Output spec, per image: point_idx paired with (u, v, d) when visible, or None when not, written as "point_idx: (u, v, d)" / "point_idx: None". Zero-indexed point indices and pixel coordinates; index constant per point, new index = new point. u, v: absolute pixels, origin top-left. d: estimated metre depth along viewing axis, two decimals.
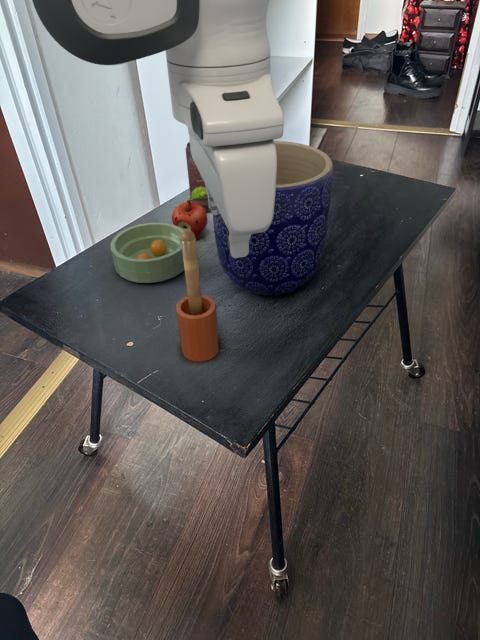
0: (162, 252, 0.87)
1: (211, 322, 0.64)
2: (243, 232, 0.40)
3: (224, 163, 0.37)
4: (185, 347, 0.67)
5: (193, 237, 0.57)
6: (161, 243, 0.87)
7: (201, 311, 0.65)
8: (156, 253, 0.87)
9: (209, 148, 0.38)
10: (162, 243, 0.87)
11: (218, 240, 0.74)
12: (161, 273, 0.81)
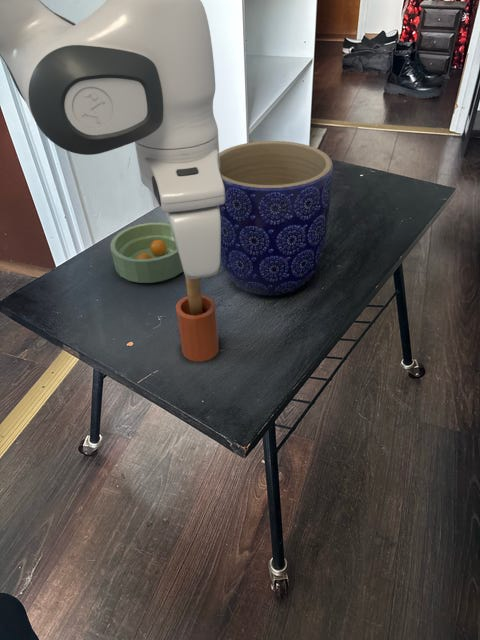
0: (162, 252, 0.87)
1: (211, 322, 0.64)
2: (196, 277, 0.50)
3: (178, 225, 0.46)
4: (185, 347, 0.67)
5: None
6: (161, 243, 0.87)
7: (201, 311, 0.65)
8: (156, 253, 0.87)
9: (167, 212, 0.47)
10: (162, 243, 0.87)
11: None
12: (161, 273, 0.81)
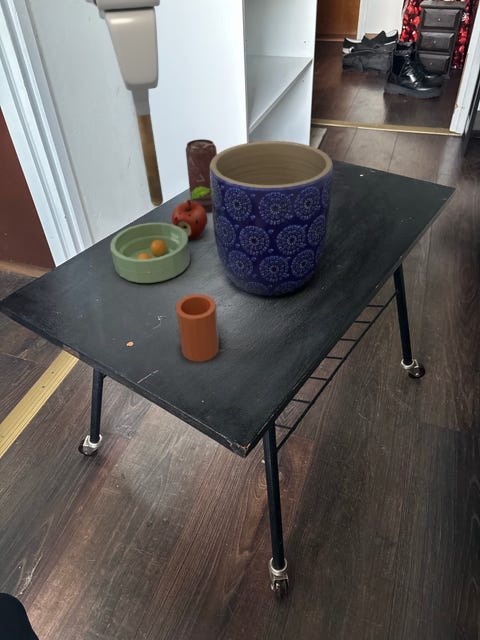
0: (162, 252, 0.87)
1: (211, 322, 0.64)
2: (135, 85, 0.51)
3: (113, 22, 0.48)
4: (185, 347, 0.67)
5: None
6: (161, 243, 0.87)
7: (155, 162, 0.66)
8: (156, 253, 0.87)
9: (103, 13, 0.49)
10: (162, 243, 0.87)
11: (218, 240, 0.74)
12: (161, 273, 0.81)
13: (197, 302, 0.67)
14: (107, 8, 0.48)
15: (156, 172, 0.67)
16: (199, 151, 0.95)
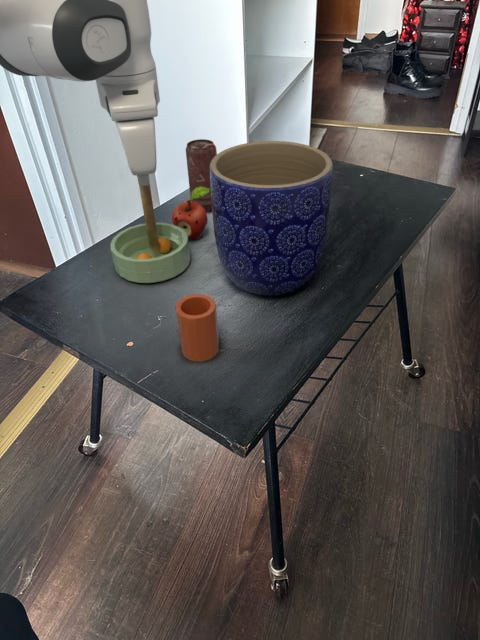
0: (165, 248, 0.88)
1: (211, 322, 0.64)
2: (138, 172, 0.68)
3: (123, 130, 0.65)
4: (185, 347, 0.67)
5: None
6: (169, 241, 0.88)
7: (153, 219, 0.83)
8: (160, 245, 0.87)
9: (116, 122, 0.66)
10: (170, 242, 0.88)
11: (218, 240, 0.74)
12: (161, 273, 0.81)
13: (197, 302, 0.67)
14: (119, 120, 0.65)
15: (154, 226, 0.84)
16: (199, 151, 0.95)
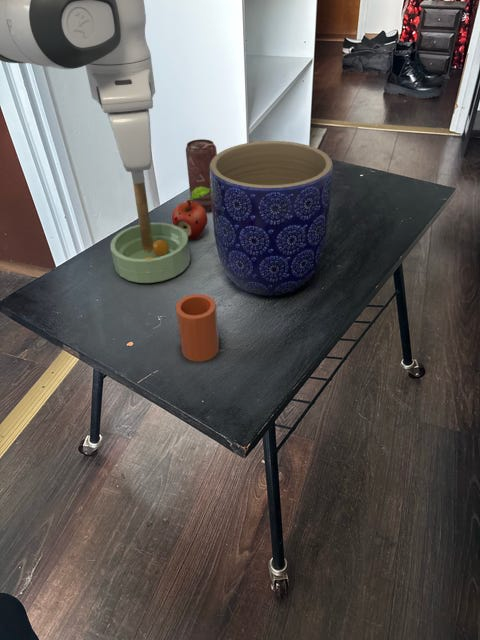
0: (164, 253, 0.88)
1: (211, 322, 0.64)
2: (132, 168, 0.64)
3: (115, 123, 0.60)
4: (185, 347, 0.67)
5: None
6: (164, 244, 0.87)
7: (147, 218, 0.79)
8: (158, 253, 0.87)
9: (108, 114, 0.61)
10: (166, 244, 0.87)
11: (218, 240, 0.74)
12: (161, 273, 0.81)
13: (197, 302, 0.67)
14: (111, 112, 0.60)
15: (148, 226, 0.79)
16: (199, 151, 0.95)
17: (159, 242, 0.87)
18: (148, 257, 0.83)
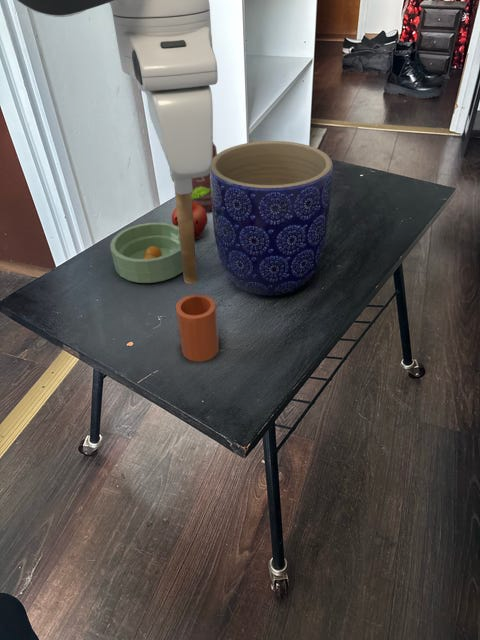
0: None
1: (211, 322, 0.64)
2: (184, 175, 0.43)
3: (162, 106, 0.40)
4: (185, 347, 0.67)
5: None
6: None
7: (192, 240, 0.58)
8: None
9: (149, 94, 0.41)
10: None
11: (218, 240, 0.74)
12: (161, 273, 0.81)
13: (197, 302, 0.67)
14: (155, 89, 0.39)
15: (192, 251, 0.59)
16: None
17: None
18: (148, 255, 0.84)
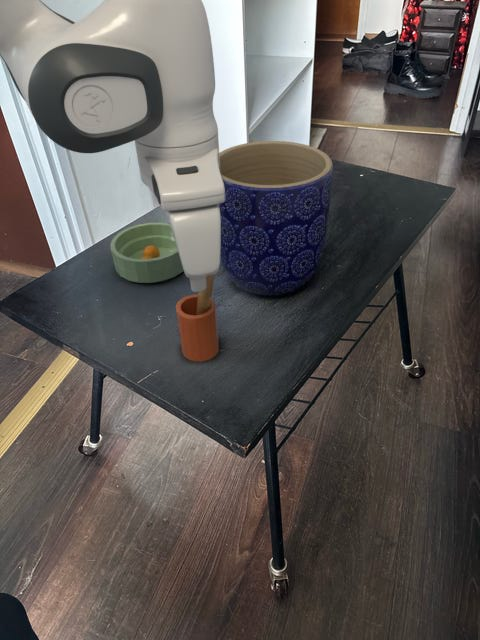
0: (159, 254, 0.87)
1: (211, 322, 0.64)
2: (196, 275, 0.50)
3: (178, 224, 0.46)
4: (185, 347, 0.67)
5: None
6: (153, 255, 0.85)
7: None
8: None
9: (166, 211, 0.47)
10: (154, 254, 0.85)
11: None
12: (161, 273, 0.81)
13: None
14: (172, 210, 0.46)
15: None
16: None
17: None
18: None
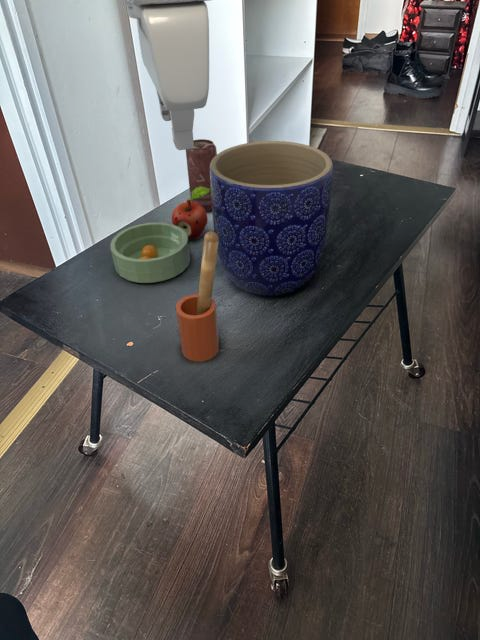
0: (157, 252, 0.87)
1: (211, 322, 0.64)
2: (178, 105, 0.39)
3: (153, 22, 0.36)
4: (185, 347, 0.67)
5: (217, 239, 0.58)
6: (151, 253, 0.85)
7: None
8: None
9: (139, 10, 0.37)
10: (151, 252, 0.85)
11: None
12: (161, 273, 0.81)
13: None
14: (145, 3, 0.35)
15: None
16: (199, 151, 0.95)
17: None
18: None
